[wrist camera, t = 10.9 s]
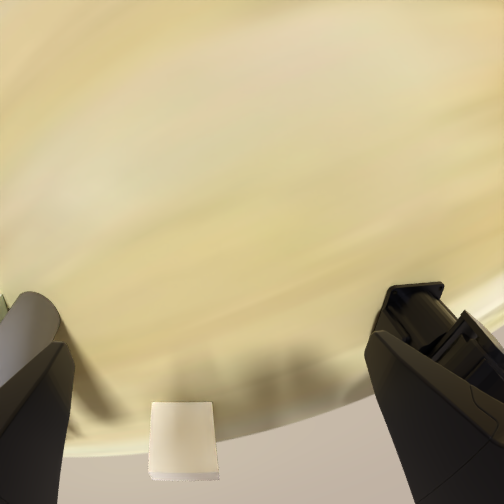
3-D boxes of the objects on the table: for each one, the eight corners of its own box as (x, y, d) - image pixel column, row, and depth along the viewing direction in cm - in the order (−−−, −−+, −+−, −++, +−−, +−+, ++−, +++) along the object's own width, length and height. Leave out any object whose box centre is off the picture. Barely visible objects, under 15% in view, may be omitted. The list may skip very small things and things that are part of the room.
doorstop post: (39, 283, 21) (-36, 416, 9) (70, 326, 23) (22, 463, 11) (7, 300, 21) (-62, 418, 9) (37, 339, 23) (-12, 460, 11)
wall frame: (212, 401, 29) (218, 472, 22) (212, 412, 30) (219, 479, 23) (-7, 382, 25) (-29, 435, 18) (0, 393, 26) (-19, 445, 19)
